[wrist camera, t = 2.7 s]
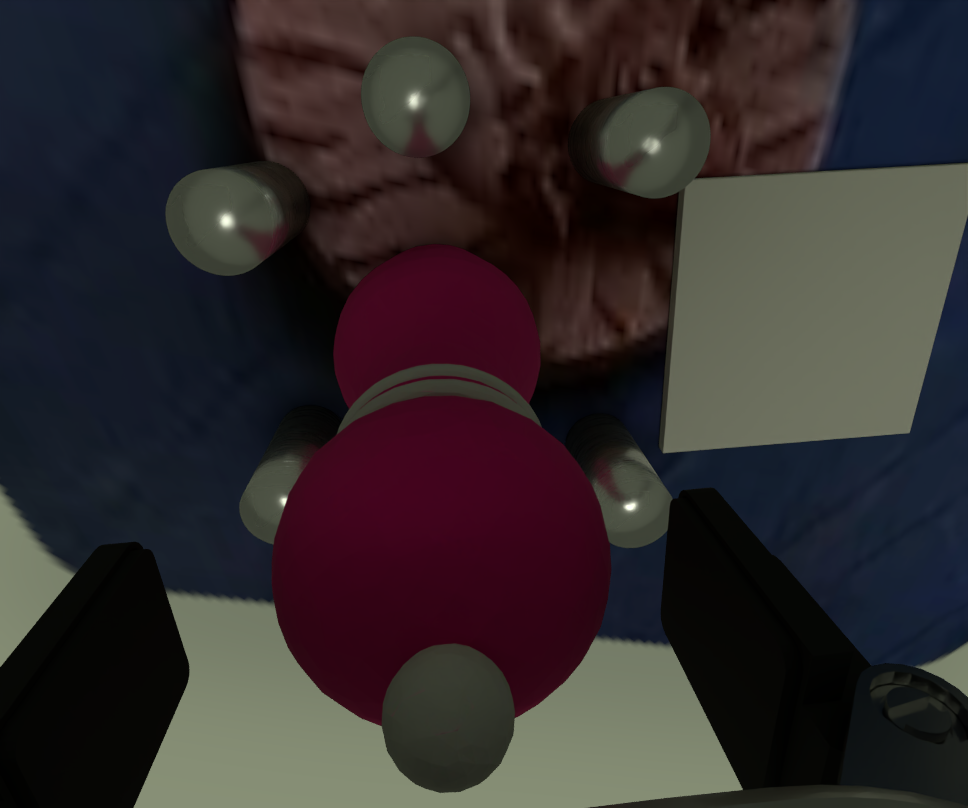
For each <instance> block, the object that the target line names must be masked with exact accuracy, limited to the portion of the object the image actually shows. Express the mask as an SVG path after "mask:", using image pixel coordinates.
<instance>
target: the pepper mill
mask: <svg viewBox="0 0 968 808" xmlns="http://www.w3.org/2000/svg"><path fill="white" fill-rule="evenodd" d="M333 356H334V366H335V374H336V377H337V380H338V384H339V387H340V389H341V392H342V395H343V398H344V400H345V402H346V404H347V406H348V408H349V411H348V412H347V414H346V415H345V417H344V419H343V421H342V423H341V425H340V427H339V429H338V432H337V435H336V436H335V437H333V438H332V439H331V440H330V441H329V442H327V443H326V444H325V445H324V446H323V447H321V448H320V449H319V450H318V451H317V452H315V453H314V455H313V456H312V458H311V459H310V461H309V462H308V464H307V465H306V467H305V468H304V470H303V471H302V473H301V474H300V476H299V477H298V479H297V481H296V483H295V484H294V486H293V488H292V489H291V491H290V493H289V494H288V497H287V500H286V504H285V507H284V510H283V513H282V516H281V519H280V522H279V525H278V528H277V531H276V535H275V538H274V546H273V556H272V589H273V598H274V603H275V608H276V613H277V618H278V623H279V626H280V628H281V631H282V633H283V636H284V639H285V641H286V643H287V646H288V648H289V650H290V651H291V653H292V655H293V656H294V658H295V659H296V661H297V663H298V664H299V665H300V666H301V668H302V669H303V670H304V671H305V673H306V674H307V675H308V676H309V677H310V679H311V680H312V681H313V682H314V683H315V684H316V685H317V687H318V688H319V689H320V690H321V691H322V692H323V693H324V694H325V695H327V696H328V697H330V698H331V699H333V700H334V701H336V702H337V703H339V704H340V705H342V706H343V707H345V708H346V709H348V710H349V711H351V712H352V713H354V714H355V715H357V716H358V717H360V718H362V719H365V720H367V721H370V722H372V723H375V724H377V725H380V726H382V729H383V733H384V738H385V743H386V747H387V751H388V753H389V755H390V756H391V758H392V759H393V761H394V763H395V764H396V766H397V768H398V769H399V771H401V772H402V773H403V774H404V775H405V776H406V777H407V778H408V779H410V780H411V781H412V782H414V783H415V784H416V785H419V786H421V787H423V788H425V789H429V790H433V791H436V792H439V793H444V792H461V791H463V790H465V789H468V788H470V787H473V786H475V785H478V784H480V783H481V782H482V781H484V780H485V779H486V778H487V777H488V776H489V775H490V774H491V773H492V772H493V771H494V770H495V769H496V768H497V767H498V766H499V764H501V762H502V759H503V757H504V755H505V753H506V751H507V749H508V746H509V743H510V741H511V739H512V736H513V732H514V719H515V718H516V717H518V716H520V715H522V714H523V713H525V712H526V711H528V710H530V709H531V708H533V707H535V706H536V705H538V704H539V703H540V702H542V701H543V700H544V699H545V698H546V697H547V696H549V695H550V694H551V693H552V692H553V691H554V690H556V689H557V688H558V687H559V686H560V685H561V684H563V683H564V682H565V681H566V680H567V679H568V678H569V676H570V675H571V674H572V673H573V671H574V670H575V669H576V668H577V667H578V665H579V664H580V663H581V661H582V660H583V658H584V656H585V655H586V653H587V651H588V650H589V648H590V646H591V644H592V642H593V640H594V638H595V636H596V634H597V633H598V631H599V629H600V627H601V624H602V620H603V616H604V612H605V608H606V604H607V600H608V592H609V584H610V576H611V558H610V544H609V540H608V535H607V531H606V527H605V522H604V518H603V514H602V510H601V506H600V503H599V501H598V498H597V496H596V494H595V491H594V489H593V486H592V484H591V483H590V481H589V480H588V478H587V477H586V475H585V473H584V472H583V470H582V469H581V467H580V466H579V464H578V463H577V461H576V460H575V459H574V458H573V456H572V455H571V454H570V453H569V451H568V450H567V449H566V448H565V446H564V445H563V444H562V443H561V442H559V441H558V440H557V439H556V438H554V437H553V436H552V435H551V434H549V433H548V432H547V431H546V430H544V429H543V428H542V427H541V424H540V422H539V420H538V418H537V416H536V414H535V413H534V411H533V410H532V408H531V406H530V405H529V402H530V400H531V397H532V395H533V393H534V389H535V386H536V383H537V378H538V374H539V369H540V340H539V336H538V332H537V328H536V324H535V320H534V317H533V313H532V311H531V309H530V307H529V305H528V302H527V300H526V299H525V297H524V296H523V294H522V293H521V291H520V290H519V288H518V287H517V286H516V285H515V284H514V282H513V281H512V280H511V279H510V278H509V277H508V276H507V275H506V274H505V273H503V272H502V271H501V270H499V269H498V268H496V267H495V266H494V265H492V264H491V263H489V262H487V261H485V260H483V259H481V258H479V257H478V256H476V255H474V254H472V253H470V252H468V251H466V250H464V249H461V248H458V247H454V246H451V245H440V244H431V245H424V246H416V247H414V248H411V249H408V250H406V251H403V252H402V253H400V254H398V255H396V256H394V257H393V258H391V259H390V260H388V261H386V262H384V263H383V264H381V265H379V266H378V267H376V268H375V269H373V270H372V271H371V272H370V273H369V274H368V275H367V276H365V277H364V278H363V279H362V280H361V281H360V283H359V284H358V285H357V286H356V288H355V289H354V290H353V292H352V293H351V294H350V295H349V297H348V299H347V301H346V304H345V306H344V308H343V310H342V312H341V314H340V318H339V322H338V326H337V330H336V335H335V342H334V353H333Z"/></svg>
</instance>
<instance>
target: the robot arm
mask: <svg viewBox="0 0 968 808" xmlns="http://www.w3.org/2000/svg"><path fill="white" fill-rule="evenodd" d="M661 621H662V625H663V629H664V631H665V634H666V636H667V638H668V640H669V642H670V644H671V646H672V648H673V650H674V652H675V654H676V656H677V658H678V660H679V662H680V664H681V666H682V668H683V670H684V672H685V674H686V676H687V678H688V680H689V682H690V684H691V686H692V688H693V690H694V692H695V694H696V696H697V698H698V700H699V702H700V704H701V706H702V708H703V710H704V712H705V714H706V716H707V718H708V720H709V722H710V724H711V726H712V728H713V730H714V732H715V734H716V736H717V738H718V740H719V742H720V744H721V746H722V748H723V750H724V752H725V754H726V756H727V758H728V760H729V762H730V764H731V766H732V768H733V770H734V772H735V774H736V776H737V778H738V780H739V782H740V784H741V786H742V788H743V790H740V791H731V792H720V793H711V794H701V795H692V796H682V797H673V798H664V799H655V800H647V801H639V802H631V803H623V804H615V805H606V806H598V807H590V808H968V697H967V696H966V695H964V694H963V693H962V692H961V691H960V690H959V689H958V688H956V687H955V686H953V685H951V684H950V683H948V682H947V681H945V680H944V679H942V678H940V677H938V676H935V675H933V674H931V673H929V672H926V671H925V670H922V669H919V668H915V667H912V666H908V665H904V664H893V663H883V664H878V665H873V666H871V665H870V664H869V663H868V661H867V660H866V659H865V658H864V657H863V656H862V655H861V653H860V652H859V651H858V650H857V649H856V648H855V646H854V645H853V644H852V643H851V642H850V641H849V639H848V638H847V637H846V636H845V635H844V634H843V633H842V631H841V630H840V629H839V628H838V627H837V626H836V624H835V623H834V622H833V621H832V620H831V619H830V617H829V616H828V615H827V614H826V613H825V612H824V610H823V609H822V608H821V607H820V606H819V605H818V604H817V602H816V601H815V600H814V599H813V598H812V597H811V595H810V594H809V593H808V592H807V591H806V590H805V588H804V587H803V586H802V585H801V584H800V583H799V581H798V580H797V579H796V578H795V577H794V576H793V575H792V573H791V572H790V571H789V570H788V569H787V568H786V566H785V565H784V564H783V563H782V562H781V561H780V560H779V559H778V558H777V557H776V556H774V555H771V553H770V552H769V551H768V550H767V549H766V548H765V546H764V545H763V544H762V543H761V542H760V541H759V539H758V538H757V537H756V536H755V535H754V534H753V532H752V531H751V530H750V529H749V528H748V527H747V525H746V524H745V523H744V522H743V521H742V519H741V518H740V517H739V516H738V515H737V514H736V512H735V511H734V510H733V509H732V508H731V507H730V505H729V504H728V503H727V502H726V501H725V500H724V498H723V497H722V496H721V495H720V494H719V493H718V491H717V490H715V489H714V488H701V489H691V490H683V491H681V492H680V494H679V498H678V499H673V500H671V502H670V508H669V520H668V532H667V543H666V555H665V567H664V579H663V591H662V602H661ZM188 678H189V663H188V659H187V656H186V653H185V650H184V647H183V644H182V641H181V638H180V634H179V631H178V628H177V625H176V622H175V619H174V616H173V613H172V610H171V607H170V604H169V601H168V597H167V594H166V591H165V588H164V585H163V582H162V579H161V576H160V573H159V570H158V567H157V563H156V560H155V557H154V555H153V553H152V551H151V550H149V549H143V547H142V546H141V545H140V544H139V543H137V542H128V543H118V544H107V545H101V546H99V547H98V548H97V549H96V550H95V551H94V552H93V553H92V554H91V556H90V557H89V558H88V559H87V561H86V562H85V563H84V564H83V566H82V567H81V568H80V569H79V570H78V572H77V573H76V574H75V575H74V577H73V578H72V579H71V580H70V582H69V583H68V584H67V585H66V587H65V588H64V589H63V590H62V592H61V593H60V594H59V595H58V597H57V598H56V599H55V600H54V602H53V603H52V604H51V605H50V607H49V608H48V609H47V610H46V612H45V613H44V614H43V615H42V616H41V618H40V619H39V620H38V621H37V622H36V624H35V625H34V626H33V628H32V629H31V630H30V631H29V632H28V634H27V635H26V636H25V637H24V639H23V640H22V641H21V642H20V644H19V645H18V646H17V647H16V648H15V650H14V651H13V652H12V653H11V655H10V656H9V657H8V658H7V660H6V661H5V662H4V663H3V665H2V666H1V667H0V808H133V807H134V805H135V803H136V801H137V798H138V796H139V794H140V792H141V789H142V787H143V785H144V782H145V780H146V778H147V776H148V773H149V771H150V768H151V766H152V764H153V762H154V759H155V757H156V755H157V753H158V750H159V748H160V746H161V743H162V741H163V739H164V737H165V734H166V732H167V729H168V727H169V725H170V723H171V720H172V718H173V716H174V714H175V711H176V709H177V707H178V704H179V702H180V700H181V697H182V695H183V693H184V690H185V688H186V686H187V683H188Z"/></svg>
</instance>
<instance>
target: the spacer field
mask: <svg viewBox="0 0 968 808" xmlns="http://www.w3.org/2000/svg"><path fill="white" fill-rule="evenodd" d="M361 101H362V107H363V112H364V115H365V118H366V120H367V123H368V125H369V127H370V128H371V130H372V132H373V133H374V134H375V136H376V137H377V138H378V139H379V140H380V141H381V142H382V143H383V144H384V145H385V146H386V147H388V148H389V149H391V150H392V151H394V152H396V153H398V154H401V155H404V156H407V157H414V158H423V157H429V156H433V155H436V154H438V153H440V152H442V151H444V150H445V149H447V148H448V147H449V146H450V145H452V144H453V143H454V142H455V141H456V139H457V138H458V137H459V135H460V134H461V132H462V130H463V129H464V127H465V124H466V122H467V119H468V115H469V109H470V91H469V86H468V81H467V78H466V75H465V73H464V71H463V69H462V67H461V65H460V64H459V62H458V61H457V59H456V58H455V57H454V56H453V55H452V53H450V52H449V51H448V50H447V49H446V48H445V47H443V46H442V45H440V44H439V43H437V42H435V41H433V40H430V39H427V38H422V37H403V38H400V39H396V40H394V41H392V42H390V43H388V44H386V45H385V46H383V47H382V48H381V49H380V50H379V51H378V52H377V53H376V54H375V55H374V56H373V58H372V59H371V61H370V62H369V64H368V66H367V68H366V71H365V74H364V77H363V81H362V88H361ZM710 135H711V134H710V125H709V121H708V118H707V115H706V113H705V111H704V109H703V107H702V106H701V104H700V103H699V102H698V101H697V100H696V99H695V98H694V97H693V96H692V95H690V94H689V93H687V92H685V91H683V90H681V89H678V88H673V87H660V88H654V89H649V90H644V91H640V92H635V93H630V94H625V95H620V96H615V97H611V98H606V99H601V100H598V101H595V102H593V103H591V104H590V105H588V106H587V107H585V108H584V109H583V110H582V111H581V112H580V113H579V114H578V116H577V117H576V119H575V120H574V122H573V124H572V126H571V129H570V132H569V137H568V152H569V157H570V160H571V162H572V164H573V166H574V168H575V169H576V171H577V172H578V173H579V174H580V175H581V176H582V177H584V178H585V179H587V180H589V181H591V182H594V183H597V184H601V185H604V186H608V187H611V188H614V189H618V190H621V191H625V192H628V193H631V194H635V195H638V196H641V197H645V198H663V197H667V196H670V195H673V194H675V193H677V192H679V191H681V190H682V189H683V188H685V187H686V186H687V185H689V184H690V183H691V182H692V181H693V180H694V178H695V177H696V176H697V175H698V173H699V172H700V170H701V169H702V167H703V165H704V163H705V161H706V158H707V155H708V151H709V147H710ZM309 214H310V200H309V196H308V193H307V190H306V188H305V186H304V184H303V183H302V181H301V180H300V179H299V177H298V176H297V175H296V174H295V173H294V172H293V171H291V170H290V169H289V168H287V167H285V166H283V165H281V164H279V163H275V162H271V161H258V162H251V163H245V164H238V165H232V166H225V167H219V168H212V169H206V170H200V171H196V172H193V173H191V174H189V175H187V176H185V177H184V178H182V179H181V180H180V181H179V182H178V183H177V184H176V185H175V187H174V188H173V190H172V191H171V193H170V195H169V198H168V201H167V205H166V223H167V228H168V231H169V234H170V236H171V239H172V241H173V242H174V244H175V246H176V247H177V249H178V250H179V251H180V253H181V254H182V255H183V256H184V257H185V258H186V259H187V260H189V261H190V262H191V263H192V264H194V265H195V266H197V267H198V268H200V269H202V270H204V271H207V272H209V273H213V274H217V275H224V276H232V275H239V274H242V273H245V272H247V271H250V270H251V269H253V268H255V267H256V266H257V265H259V264H260V263H261V262H263V261H264V260H265V259H267V258H268V257H269V256H271V255H272V254H273V253H275V252H276V251H277V250H279V249H280V248H281V247H283V246H284V245H285V244H287V243H288V242H289V241H291V240H292V239H293V238H295V237H296V236H297V235H298V234H300V233H301V231H302V230H303V229H304V227H305V226H306V224H307V222H308V218H309ZM341 423H342V421H341V420H340V419H339V418H338V417H337V416H336V415H335V414H334V413H332V412H331V411H329V410H327V409H325V408H322V407H318V406H302V407H298V408H296V409H294V410H292V411H290V412H289V413H288V414H287V415H286V416H285V417H284V418H283V419H282V421H281V423H280V425H279V427H278V429H277V431H276V433H275V434H274V436H273V438H272V440H271V442H270V444H269V446H268V448H267V450H266V452H265V453H264V455H263V457H262V459H261V461H260V463H259V465H258V467H257V469H256V471H255V472H254V474H253V476H252V478H251V480H250V482H249V484H248V486H247V488H246V490H245V492H244V493H243V495H242V498H241V501H240V515H241V518H242V521H243V523H244V525H245V526H246V527H247V529H248V530H249V531H250V532H251V533H252V534H253V535H255V536H256V537H257V538H259V539H261V540H263V541H265V542H267V543H270V544H274V538H275V535H276V531H277V528H278V525H279V522H280V519H281V516H282V513H283V510H284V507H285V504H286V500H287V497H288V494H289V493H290V491H291V489H292V488H293V486H294V484H295V483H296V481H297V479H298V477H299V476H300V474H301V473H302V471H303V470H304V468H305V467H306V465H307V464H308V462H309V461H310V459H311V458H312V456H313V455H314V453H315V452H317V451H318V450H319V449H320V448H321V447H323V446H324V445H325V444H326V443H327V442H329V441H330V440H331V439H332V438H333V437H335V436H336V435H337V432H338V429H339V427H340V425H341ZM566 449H567V450H568V451H569V453H570V454H571V455H572V456H573V458H574V459H575V460H576V461H577V463H578V464H579V466H580V467H581V469H582V470H583V472H584V473H585V475H586V477H587V478H588V480H589V481H590V483H591V484H592V486H593V489H594V491H595V494H596V496H597V498H598V501H599V503H600V506H601V510H602V514H603V518H604V522H605V527H606V531H607V535H608V540H609V542H610V543H612V544H614V545H616V546H619V547H624V548H636V547H641V546H645V545H647V544H650V543H652V542H654V541H655V540H657V539H658V538H660V537H661V536H662V535H663V534H664V533H665V532H666V531H667V530H668V520H669V508H670V502H671V500H673V499H672V497H671V495H670V494H669V492H668V491H667V489H666V488H665V486H664V485H663V483H662V482H661V480H660V479H659V477H658V476H657V474H656V472H655V471H654V469H653V468H652V466H651V465H650V463H649V462H648V460H647V459H646V457H645V456H644V454H643V453H642V451H641V450H640V448H639V447H638V445H637V444H636V442H635V441H634V439H633V438H632V436H631V435H630V433H629V432H628V430H627V429H626V427H625V426H624V424H623V423H622V422H621V421H620V420H619V419H617V418H616V417H614V416H611V415H607V414H593V415H590V416H587V417H585V418H583V419H581V420H580V421H578V422H577V423H576V424H575V425H574V426H573V427H572V428H571V430H570V431H569V433H568V435H567V438H566Z"/></svg>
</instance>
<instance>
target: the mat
mask: <svg viewBox="0 0 968 808" xmlns="http://www.w3.org/2000/svg"><path fill="white" fill-rule="evenodd" d="M967 216H968V163H955V164H938V165H921V166H903V167H886V168H869V169H851V170H834V171H817V172H800V173H782V174H765V175H748V176H730V177H713V178H696V179H694V180H693V181H692V182H691V183H690V184H689V185H687V186H686V187H685V188H683V189H682V190H681V191H679V198H678V210H677V223H676V235H675V248H674V261H673V273H672V286H671V299H670V311H669V324H668V337H667V349H666V362H665V375H664V387H663V400H662V413H661V425H660V438H659V448H660V449H661V451H662V452H663V453H669V452H681V451H694V450H706V449H718V448H730V447H743V446H755V445H767V444H780V443H792V442H804V441H816V440H829V439H841V438H853V437H865V436H878V435H890V434H902V433H909V432H910V429H911V425H912V421H913V417H914V414H915V410H916V406H917V403H918V399H919V395H920V391H921V388H922V384H923V380H924V376H925V373H926V369H927V365H928V361H929V358H930V354H931V350H932V347H933V343H934V339H935V335H936V332H937V328H938V324H939V320H940V317H941V313H942V309H943V305H944V302H945V298H946V294H947V290H948V287H949V283H950V279H951V276H952V272H953V268H954V264H955V261H956V257H957V253H958V249H959V246H960V242H961V238H962V234H963V231H964V227H965V223H966V219H967Z"/></svg>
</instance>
